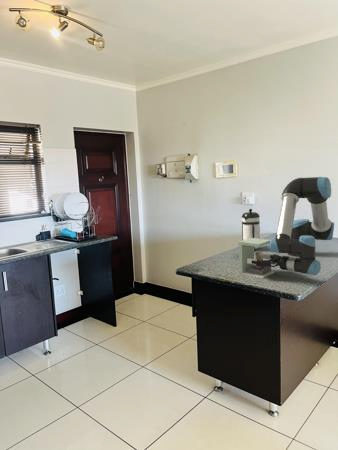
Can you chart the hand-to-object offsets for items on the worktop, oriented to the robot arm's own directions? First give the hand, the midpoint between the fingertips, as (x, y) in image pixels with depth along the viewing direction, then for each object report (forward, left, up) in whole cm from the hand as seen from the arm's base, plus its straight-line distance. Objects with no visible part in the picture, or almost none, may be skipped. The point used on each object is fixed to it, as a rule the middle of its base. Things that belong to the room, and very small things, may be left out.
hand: (253, 257), depth 197 cm
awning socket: (-2, +3, -8) cm, 9 cm away
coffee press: (+3, -57, -8) cm, 58 cm away
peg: (-3, +2, -8) cm, 8 cm away
